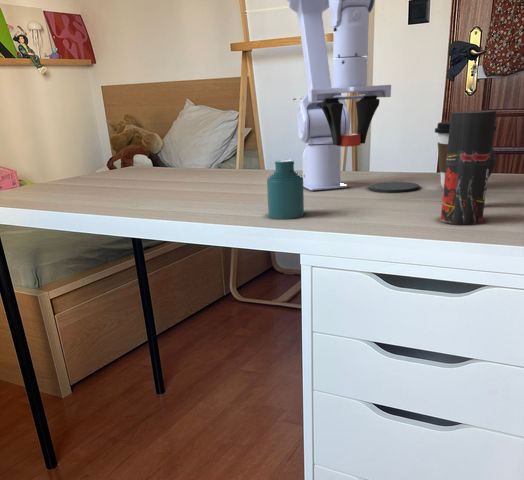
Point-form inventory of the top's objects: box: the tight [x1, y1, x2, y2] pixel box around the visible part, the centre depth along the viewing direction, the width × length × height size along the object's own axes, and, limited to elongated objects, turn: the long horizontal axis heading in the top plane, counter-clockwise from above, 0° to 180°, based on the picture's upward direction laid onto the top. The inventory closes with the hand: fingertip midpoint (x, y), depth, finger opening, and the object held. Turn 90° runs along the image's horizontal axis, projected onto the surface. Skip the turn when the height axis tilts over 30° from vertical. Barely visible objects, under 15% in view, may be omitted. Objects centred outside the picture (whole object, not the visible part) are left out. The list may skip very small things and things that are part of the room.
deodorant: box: [440, 109, 497, 226], centre depth 76 cm, size 6×6×15 cm
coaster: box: [368, 181, 420, 194], centre depth 108 cm, size 10×10×1 cm
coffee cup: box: [434, 120, 497, 190], centre depth 102 cm, size 11×11×12 cm
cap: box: [337, 133, 362, 148], centre depth 95 cm, size 4×4×2 cm
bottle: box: [266, 159, 305, 220], centre depth 88 cm, size 6×6×9 cm
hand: (348, 144), depth 95 cm, fingers closed on cap, 4 cm apart
